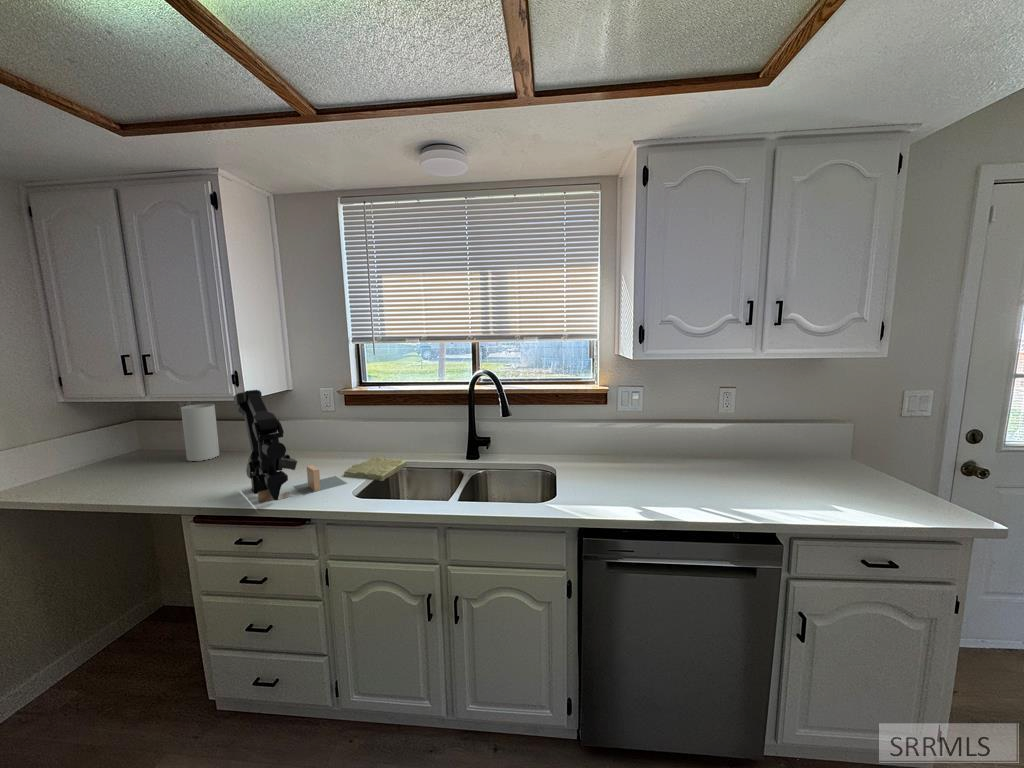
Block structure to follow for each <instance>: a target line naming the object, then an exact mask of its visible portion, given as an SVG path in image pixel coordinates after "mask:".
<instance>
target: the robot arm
mask: <svg viewBox="0 0 1024 768" xmlns="http://www.w3.org/2000/svg"><path fill="white" fill-rule="evenodd" d="M233 402H234V403H233V404H234V406H236V408H237V411H238V412H239V413H240V414H241V415H242V416H243V417H244V423H245V425H246V427H245V428H246V431H247V435H248V440H249V444H250V450H251V453H250V455H249V458H248V462H247V464H246V470H245V471H246V476H247V478H248V479H250V480H251V482H250V483H251V488H250V491H251V492H252V493H253V494H254V495H258V492H259V491H263V490H269V492H270V494H271V495H272V497H273V499H274V500H273V501H279V500H278V497H279V494H281V492H280V491H281V489H282V485H284V484H285V483H286V482H287V481H288V480H289V478H288V477H289V476H288V474H287V473H285V472H284V471H283V469H286V470H291V471H295V470H296V468H297V464H298V460H296V459H295V458H292V457H291V455H290V454H286V453H287V447H286V446H285V445H284V444H283V443H282V442H280V441H279V438H284V428H283V426H282V423H281V422H280V420H279V419H278V418H277V416H276V415H275V413H272V412H270V411H268V408H267V406H266V404H265V402H264V400H263V395H262V391H261V390H260V389H259V390H258V389H250V390H245V391H242V392H237V393H236V394H235V395H234V396H233Z"/></svg>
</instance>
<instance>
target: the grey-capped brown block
mask: <svg viewBox="0 0 1024 768" xmlns="http://www.w3.org/2000/svg"><path fill="white" fill-rule="evenodd" d="M257 497H258V498H257V499H258V502H259V503H260V504H264V503H268V502H272V501H275V500H274V499H273V497H272V495H271V494H270V492H269V490H263V491H259V492H258V493H257ZM292 497H294V494H292V493H291V492H290V491H287V492H283V493H279V497H278V500H277V501H280V500H284V499H288V498H292Z"/></svg>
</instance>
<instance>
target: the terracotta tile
mask: <svg viewBox="0 0 1024 768" xmlns="http://www.w3.org/2000/svg"><path fill="white" fill-rule="evenodd" d="M306 473H307V474H306V475H307V483H308V487H309V488H311V489H312V490H313V491H317V492H320V491H319V490H320V480H321V479H320V477H321V476H320V469H319V468H318V467H316V466H315V465H313V464H311V465H306Z"/></svg>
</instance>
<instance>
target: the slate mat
mask: <svg viewBox="0 0 1024 768" xmlns="http://www.w3.org/2000/svg"><path fill="white" fill-rule="evenodd" d="M346 484H348V482H346V481H345V480H343V479H341V478H340V477H338V476H336V475H335V476H330V477H326V478H321V479H320V490H319V491H313V490H312V489H311V488H309V487H308V482H305V483H301V484H297V485H293V486H292V487H293V488H294V489H295V490H297V491H298V492H299V493H301V494H302V495H303V496H305V495H309V494H314V493H317V492H321V491H323V490H329V489H331V488H336V487H339V486H343V485H346Z"/></svg>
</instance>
